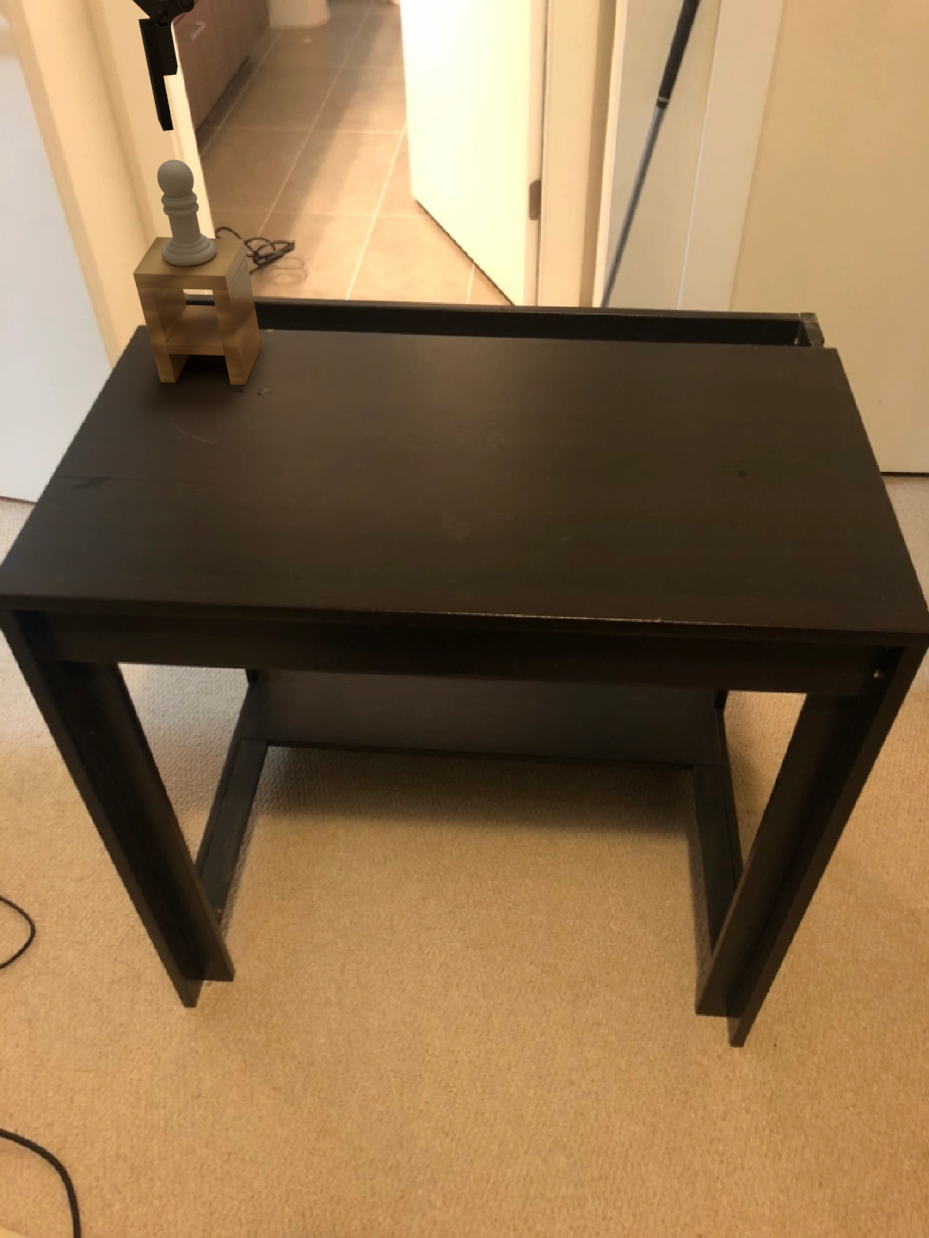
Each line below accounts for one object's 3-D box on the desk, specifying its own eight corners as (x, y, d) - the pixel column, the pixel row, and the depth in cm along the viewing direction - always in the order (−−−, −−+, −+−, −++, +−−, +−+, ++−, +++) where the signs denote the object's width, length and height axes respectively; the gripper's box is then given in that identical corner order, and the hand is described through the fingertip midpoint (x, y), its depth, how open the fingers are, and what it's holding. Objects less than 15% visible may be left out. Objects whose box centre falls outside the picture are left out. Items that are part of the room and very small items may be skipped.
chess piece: (222, 244, 98) (205, 150, 92) (210, 268, 95) (192, 173, 88) (170, 243, 99) (149, 150, 92) (156, 267, 95) (133, 172, 88)
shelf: (160, 382, 103) (132, 273, 94) (181, 343, 108) (156, 236, 100) (245, 385, 102) (225, 276, 94) (261, 346, 108) (243, 239, 99)
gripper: (179, -269, 61) (233, 100, 76) (-274, -265, 55) (-119, 137, 70) (200, -262, 56) (253, 132, 71) (-296, -256, 50) (-124, 176, 65)
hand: (69, 136), depth 70 cm, fingers open, 13 cm apart
